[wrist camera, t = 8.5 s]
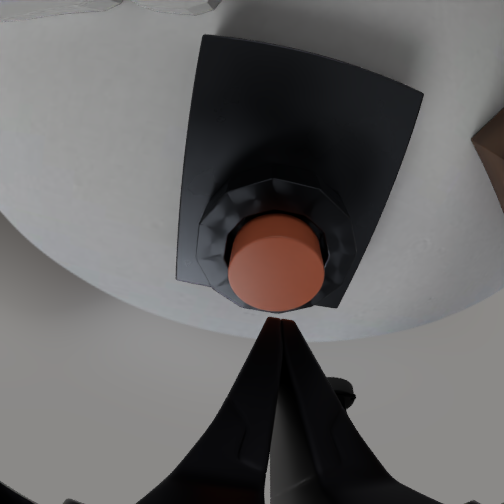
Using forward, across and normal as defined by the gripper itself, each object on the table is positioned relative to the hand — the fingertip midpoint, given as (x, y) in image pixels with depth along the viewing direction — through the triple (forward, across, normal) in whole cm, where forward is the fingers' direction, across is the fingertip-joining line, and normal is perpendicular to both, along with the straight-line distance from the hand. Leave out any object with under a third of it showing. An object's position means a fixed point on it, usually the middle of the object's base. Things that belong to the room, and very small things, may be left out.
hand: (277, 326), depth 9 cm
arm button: (+4, 0, 0) cm, 4 cm away
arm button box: (+8, 0, -2) cm, 8 cm away
